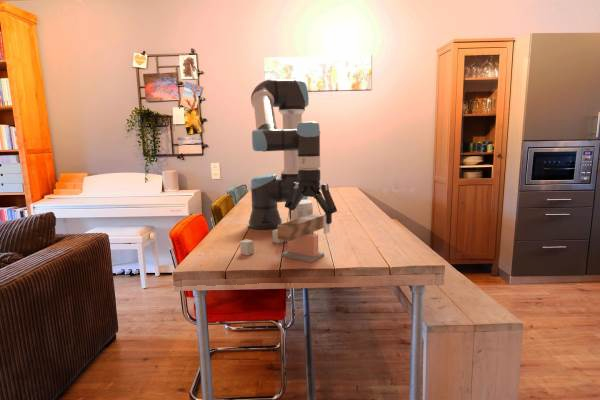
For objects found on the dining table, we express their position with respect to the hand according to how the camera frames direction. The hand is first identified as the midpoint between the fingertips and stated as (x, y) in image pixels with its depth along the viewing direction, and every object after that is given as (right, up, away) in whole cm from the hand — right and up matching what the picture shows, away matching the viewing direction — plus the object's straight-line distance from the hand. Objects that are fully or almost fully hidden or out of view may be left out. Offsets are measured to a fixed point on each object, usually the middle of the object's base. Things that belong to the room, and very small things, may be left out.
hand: (310, 230), depth 124 cm
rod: (-3, -1, -4) cm, 5 cm away
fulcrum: (-2, -8, -2) cm, 9 cm away
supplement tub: (-3, -5, +20) cm, 21 cm away
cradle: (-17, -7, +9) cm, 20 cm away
